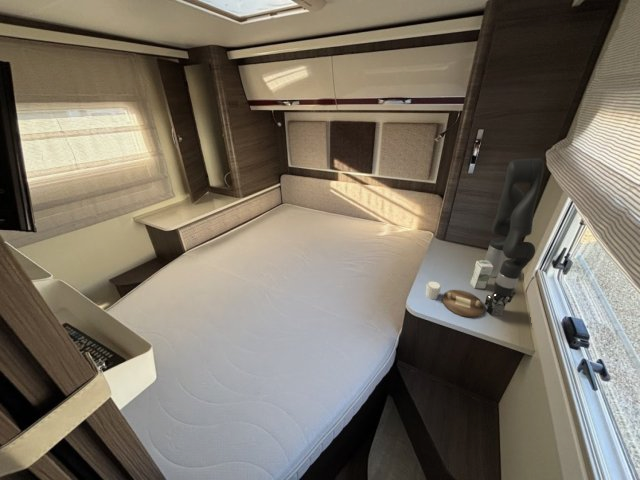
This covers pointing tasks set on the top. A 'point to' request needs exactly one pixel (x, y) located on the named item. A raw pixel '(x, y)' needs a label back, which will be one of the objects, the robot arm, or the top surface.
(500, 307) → the dice cube
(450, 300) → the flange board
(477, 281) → the syrup box
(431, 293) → the white cup
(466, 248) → the top surface
